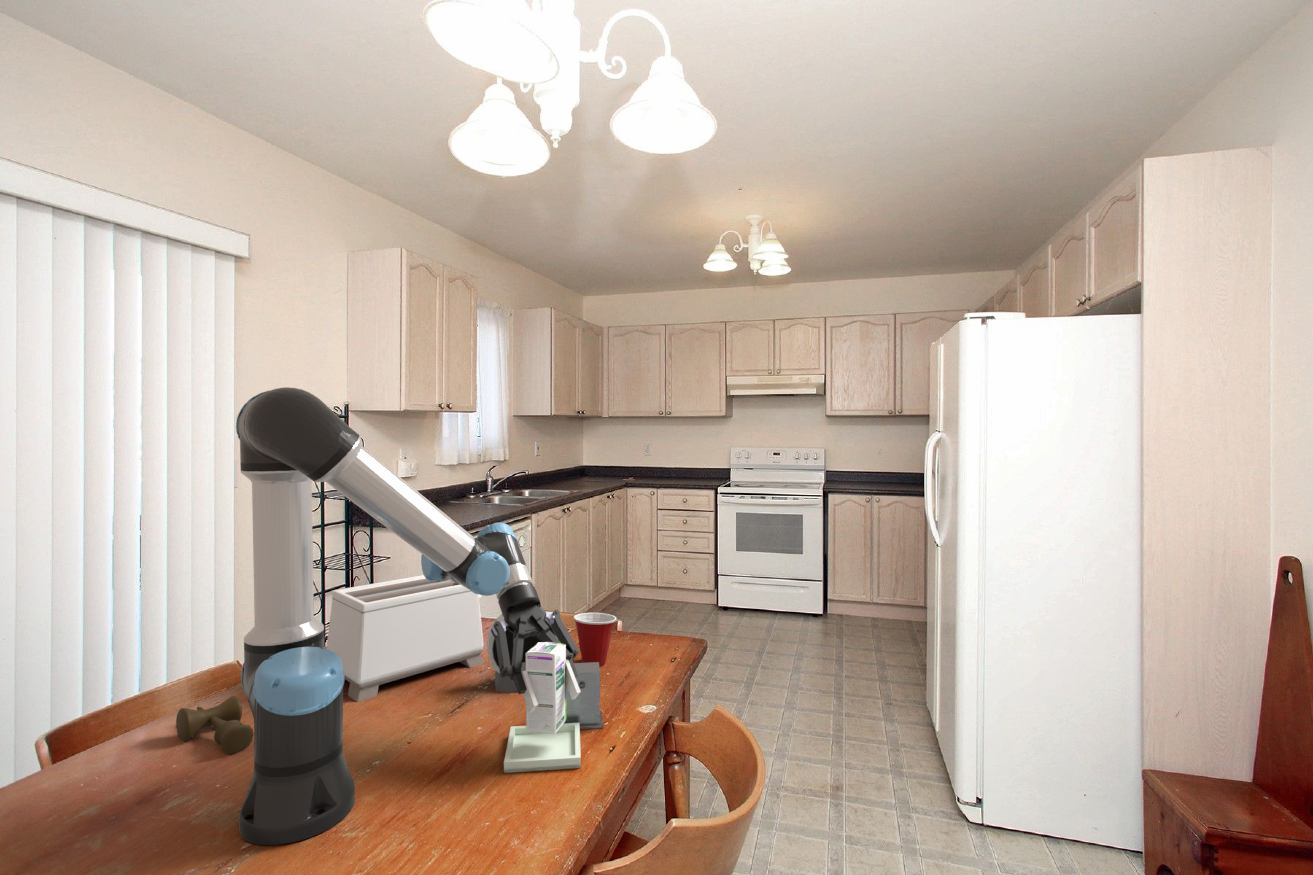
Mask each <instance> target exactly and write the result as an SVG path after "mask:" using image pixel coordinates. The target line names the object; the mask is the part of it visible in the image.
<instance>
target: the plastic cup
mask: <svg viewBox="0 0 1313 875" xmlns="http://www.w3.org/2000/svg"><path fill="white" fill-rule="evenodd" d="M573 620H574V622H575V626H576V630H577V631H576V632H577V637H578V643H579V646H578V647H579V652H580V656H581V663H592V662H599V667H600V668H601V667H603V666H605V665H606V662H607V657H608V652H609V649H610V648H609V647H610V643H611V635H612V631H613V628H614V624H615V623H616V621H617V617H616V616H615V615H613V614H609V613H604V612H584V613H578V614H575V615H574V616H573Z"/></svg>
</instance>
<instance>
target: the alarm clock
mask: <svg viewBox="0 0 1313 875" xmlns="http://www.w3.org/2000/svg"><path fill="white" fill-rule="evenodd" d="M496 621H499V622H502V621H504V617H503V615H502V613H501V614H499V616H497V618H496V619H495V620H494V621H493V623H492V625H491V626H490V629H489V630H488V634H487V637H486V638H487V640H486V646H487V654H488V659H489V661H490V663H491V666H492V668H493V669H494V670H495V675H494V686H495V691H496V692H497V691H498V692H497V693H518V692H517V689H516V686H515V683H514V680H511V679H510V677H509V676H506V677H501V675H500V669H499V662H498V655H497V648H496V641H495V638H494V636H493V634H492V632H491V629H492V627H493V625H494V623H495V622H496ZM545 623H546V624H547V625H548V626H549V628H550V631H551V632H552V633H553V634H554V635H555V636H556V634H555V633H554V631H553V629H552V627H551V624H548V620H546V619H545ZM541 632H542V630H541ZM505 633H506V639H507V645H508V652H509V658H510V665H511V666H512V655H513V645H514V644H513V637H514V633H512V632H511V631H510V630H508V629H507V628H506V631H505ZM556 638H557V636H556ZM557 639H558V638H557ZM538 642H543V641H542V640H539V639H538V638H537V637H536V636H534V637H530V636H529V637H527V638H525V639H524V643H523V655H522V668H521V672H522V671H525V670H526V653H527V652H528V651H529V650H530V649H531V648H533V647H534V646H535V645H536V644H537V643H538Z"/></svg>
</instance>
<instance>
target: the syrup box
mask: <svg viewBox="0 0 1313 875" xmlns="http://www.w3.org/2000/svg"><path fill="white" fill-rule="evenodd" d="M526 671H527V674H528V677H529V680H530V682H531V685H532V688H533V691H534V694H535V697H536V700H537V703H538V706H537V707H536V708H535V710H534V711H533V712H530V713H529V711H528V708H527V705H526V704H525V726H526V730H527V731H529V732H535V733H544V734H556V732H557V731H558V730H559V729H560V727H561V726H562V725H563V723H564V722H565V721H566V645H565V644H561V643H554V642H538V643H537V644H536V645H535V646H534V647H533V648H531V649H530V650H529V651H528V652H527V653H526Z"/></svg>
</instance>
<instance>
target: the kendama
mask: <svg viewBox="0 0 1313 875" xmlns="http://www.w3.org/2000/svg"><path fill="white" fill-rule="evenodd" d="M242 715H243V707H242V703H241V700H240V698H238V696H237V695H232V696H229V697H228V698H227V699H225V700H224V701H223V702H221V703H220V704H218V705H215V706H213V707H210V708H206V709H204V708H203V707H202V706H197V707H196V709H192V708H186V707H181V708H179V710H178V711H177V714H176V718H175V719H176V720H175V729H176V733H177V737H178V739H179V740H180V741H181V742H183V743H186V742H187V741H189V740H191V739H192V738H193V737H195V735H196V734H197V733H199V732H200V731H201V730H203V729H206V728H210V727H212V728H213V729H214V735H213V740H214V742H215V743H216V744H217V745H219V746H220V749H221V751H222V753H223V754H225V755H230V756H231V755H233V754H237V753H241V752H243V751H245V749H247V748H248V747H249V746H250V745H251V743H252V741H253V740H254V728H252V727H251V725H249V724H243V723H242V721H241V720H242Z"/></svg>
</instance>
